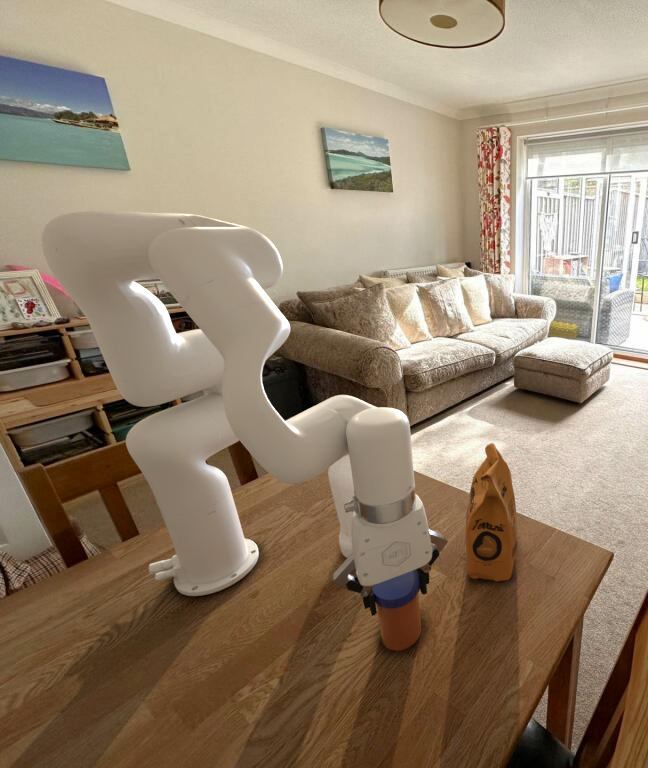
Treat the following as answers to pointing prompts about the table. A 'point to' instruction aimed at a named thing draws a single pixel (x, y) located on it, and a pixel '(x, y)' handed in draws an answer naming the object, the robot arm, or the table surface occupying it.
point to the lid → (397, 590)
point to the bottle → (343, 500)
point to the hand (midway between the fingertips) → (397, 596)
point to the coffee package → (491, 520)
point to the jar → (400, 625)
